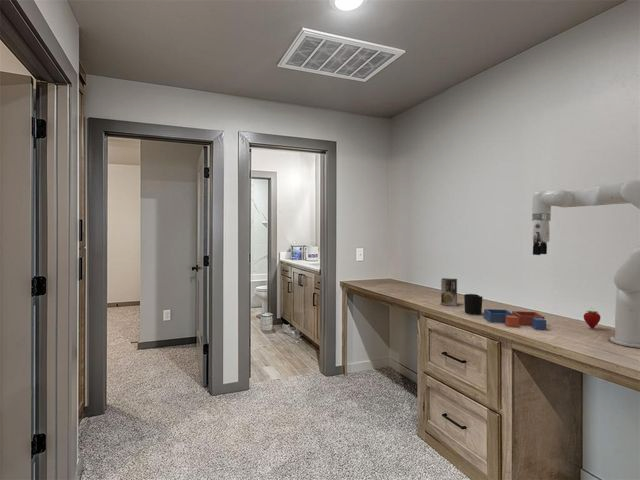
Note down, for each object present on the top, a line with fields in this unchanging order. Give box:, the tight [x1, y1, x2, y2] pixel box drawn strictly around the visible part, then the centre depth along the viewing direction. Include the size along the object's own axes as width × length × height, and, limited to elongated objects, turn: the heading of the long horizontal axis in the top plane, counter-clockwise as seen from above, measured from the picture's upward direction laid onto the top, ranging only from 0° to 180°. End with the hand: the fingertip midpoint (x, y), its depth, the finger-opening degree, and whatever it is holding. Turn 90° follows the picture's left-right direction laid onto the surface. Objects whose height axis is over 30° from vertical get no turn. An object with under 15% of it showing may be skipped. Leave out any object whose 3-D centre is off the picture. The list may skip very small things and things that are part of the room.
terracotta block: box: [504, 315, 519, 328], centre depth 180 cm, size 4×4×4 cm
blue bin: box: [483, 308, 514, 324], centre depth 192 cm, size 11×11×4 cm
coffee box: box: [440, 277, 458, 307], centre depth 232 cm, size 9×6×16 cm
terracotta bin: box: [511, 310, 546, 326], centre depth 187 cm, size 11×11×4 cm
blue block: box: [531, 318, 547, 331], centre depth 175 cm, size 4×4×4 cm
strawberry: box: [583, 307, 601, 329], centre depth 176 cm, size 6×8×10 cm
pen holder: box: [463, 293, 483, 316], centre depth 208 cm, size 9×9×10 cm
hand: (539, 254), depth 175 cm, fingers open, 9 cm apart
